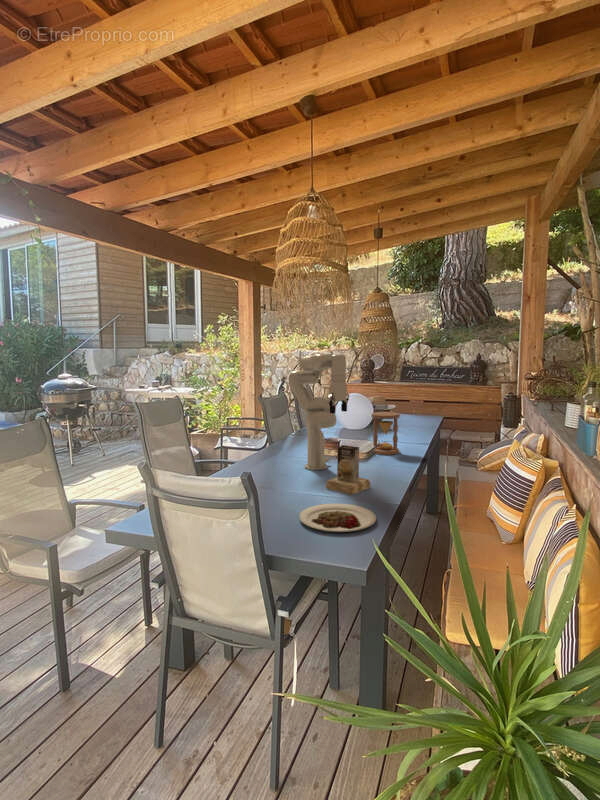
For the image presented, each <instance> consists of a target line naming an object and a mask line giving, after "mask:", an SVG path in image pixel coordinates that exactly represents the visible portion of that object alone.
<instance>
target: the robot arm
mask: <svg viewBox="0 0 600 800" xmlns="http://www.w3.org/2000/svg"><path fill="white" fill-rule="evenodd" d="M298 363H299V368H300V369H301V370H300V369H299V370H294V371H291V372H290V373H289V375H288V385H289V387H290V390H291V392H292V394H293V395H294V396H295V397H296V398H297V400H298V403H299V406H300V408H301V409H302V411H303V413H305V415H306V414H307V415H306V416H305V423H306V424H305V425H306V433H307V463H306V464H305V465H304V468H305V469H306V470H309V471H310V470H312V471H322V470H326V469H328V465H327V464H326V463H329V462H330V459H329V458H328V457H327V458H325V434H324V433H323V431H322V429H329V428H333V427H334V426H336V424H337V416H336V402H338V403H339V402H341V404H340V405H341V409H340V411H341V412H348V403H349V398H350V394H349V393H348V388H347V387H348V385H347V357H346V355H345V354H337V353H322V354H311V355H307V356H303V357H302V358H300V360H299V362H298ZM324 369H325V370H326V369H330V382H329V386H328V387H329V388H328V396H326V397H324V396H316V397H315V396H313V395H312V392H311V391H310V390H309V389H308V387H306V386H308V385H315V384H317V383H318V382H319V380H320V378H321V375H322V373H323V371H324ZM304 385H305V386H304Z"/></svg>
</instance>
